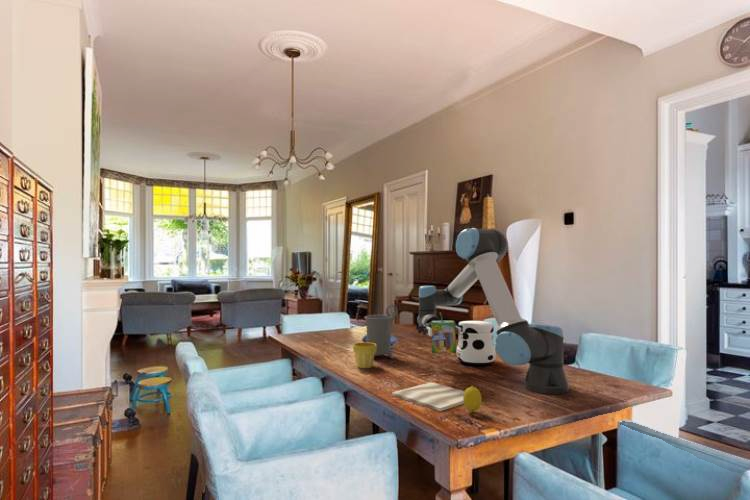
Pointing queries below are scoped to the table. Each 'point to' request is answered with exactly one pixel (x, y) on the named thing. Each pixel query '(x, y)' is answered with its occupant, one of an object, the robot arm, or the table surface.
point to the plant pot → (364, 354)
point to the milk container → (476, 343)
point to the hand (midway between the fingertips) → (445, 332)
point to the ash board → (432, 396)
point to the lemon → (472, 398)
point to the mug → (380, 331)
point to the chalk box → (443, 336)
